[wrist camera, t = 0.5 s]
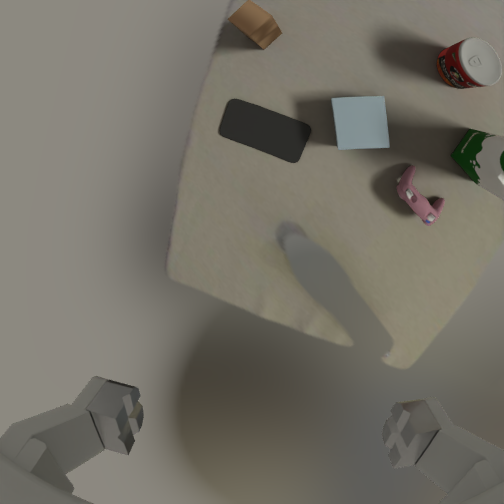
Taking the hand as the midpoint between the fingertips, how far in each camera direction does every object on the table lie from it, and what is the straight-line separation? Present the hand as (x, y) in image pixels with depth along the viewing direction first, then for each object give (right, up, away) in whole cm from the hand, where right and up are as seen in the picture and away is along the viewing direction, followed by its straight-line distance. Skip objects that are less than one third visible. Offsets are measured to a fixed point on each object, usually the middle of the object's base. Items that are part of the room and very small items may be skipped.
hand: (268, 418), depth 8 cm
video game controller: (+29, +16, +38) cm, 50 cm away
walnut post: (+1, +42, +32) cm, 53 cm away
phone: (+2, +26, +40) cm, 48 cm away
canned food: (+34, +37, +26) cm, 57 cm away
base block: (+17, +27, +36) cm, 48 cm away
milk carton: (+39, +22, +32) cm, 55 cm away
